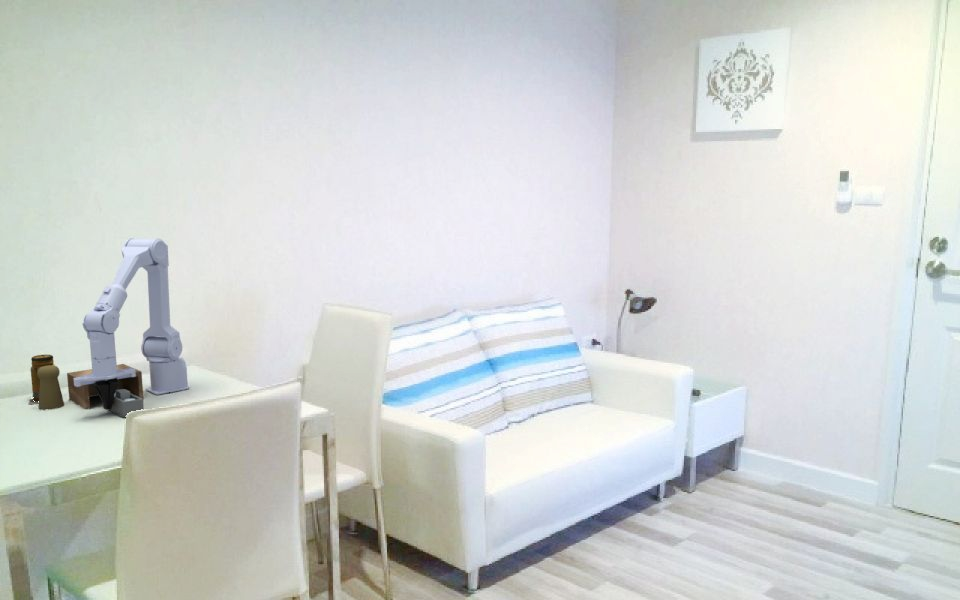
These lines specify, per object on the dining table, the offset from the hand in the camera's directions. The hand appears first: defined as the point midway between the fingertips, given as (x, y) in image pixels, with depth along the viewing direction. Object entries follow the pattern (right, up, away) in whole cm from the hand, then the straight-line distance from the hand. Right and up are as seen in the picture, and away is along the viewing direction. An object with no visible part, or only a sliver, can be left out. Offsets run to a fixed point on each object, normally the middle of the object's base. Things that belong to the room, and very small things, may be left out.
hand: (107, 408), depth 201 cm
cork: (-18, -1, +7) cm, 20 cm away
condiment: (-24, 0, +14) cm, 28 cm away
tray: (+3, -1, +3) cm, 4 cm away
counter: (-7, +1, +14) cm, 16 cm away
